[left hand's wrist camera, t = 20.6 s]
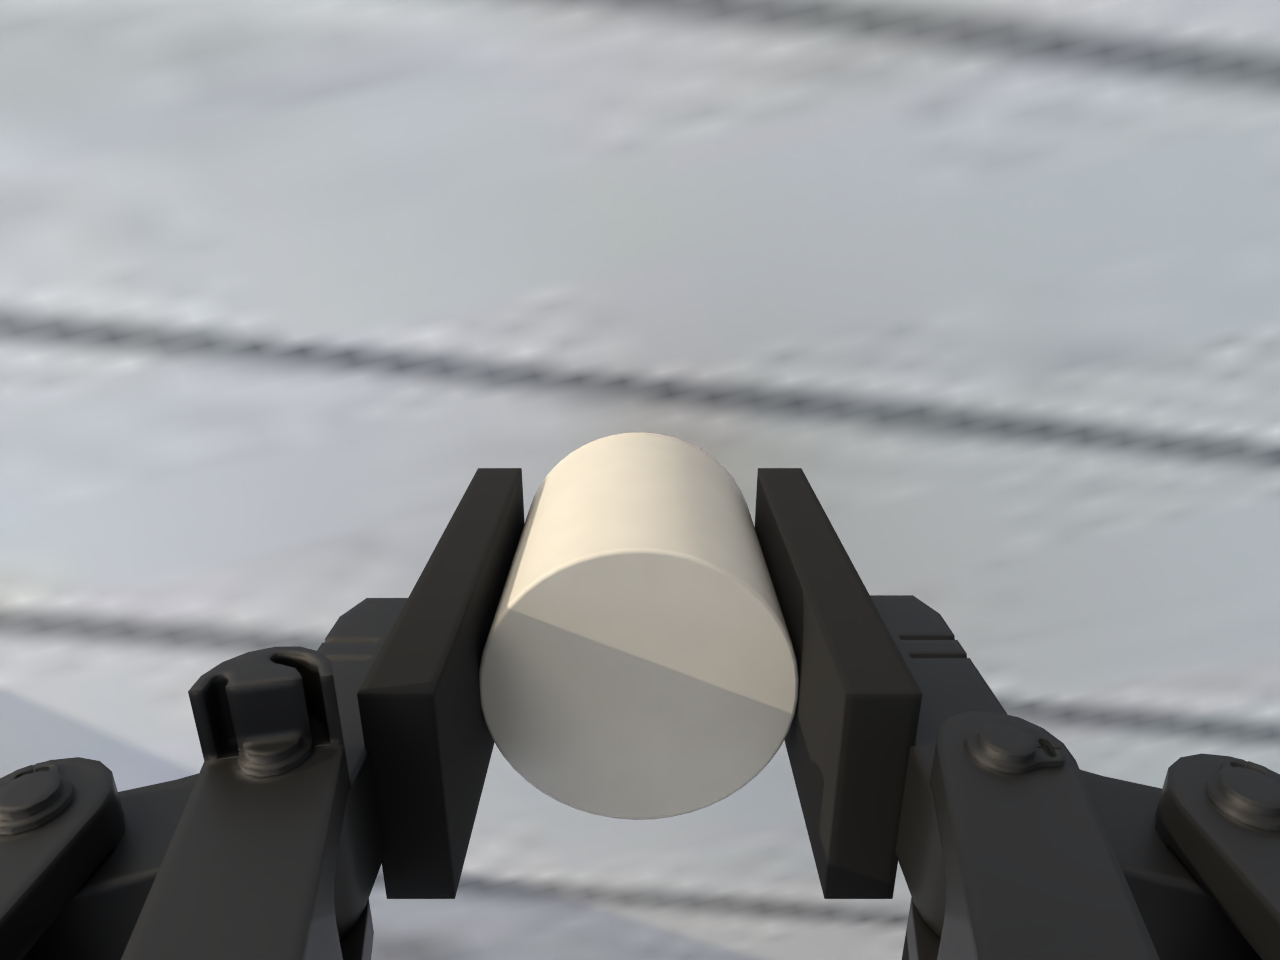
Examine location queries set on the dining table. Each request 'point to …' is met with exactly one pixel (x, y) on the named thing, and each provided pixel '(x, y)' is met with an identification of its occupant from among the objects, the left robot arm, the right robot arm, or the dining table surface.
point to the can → (638, 635)
